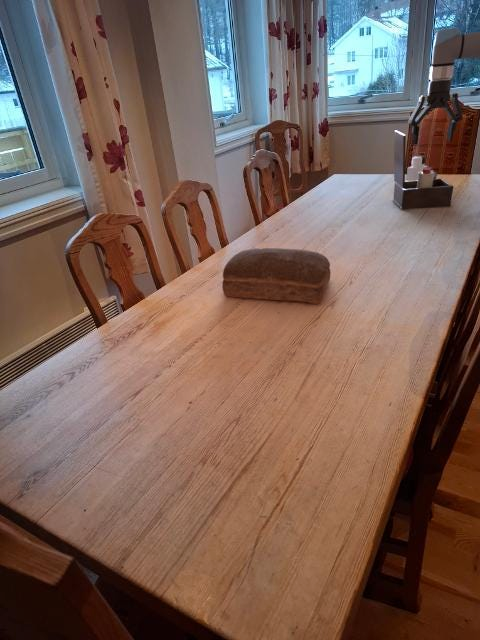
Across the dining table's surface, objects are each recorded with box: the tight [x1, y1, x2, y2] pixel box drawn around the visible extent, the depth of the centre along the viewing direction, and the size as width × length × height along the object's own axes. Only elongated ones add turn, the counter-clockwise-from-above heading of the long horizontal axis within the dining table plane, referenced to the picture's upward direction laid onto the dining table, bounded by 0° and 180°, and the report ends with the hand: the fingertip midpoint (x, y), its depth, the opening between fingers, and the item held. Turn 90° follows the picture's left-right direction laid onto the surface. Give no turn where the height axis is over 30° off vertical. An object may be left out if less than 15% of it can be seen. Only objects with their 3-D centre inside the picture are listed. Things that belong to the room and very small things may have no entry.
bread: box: [222, 247, 331, 304], centre depth 123 cm, size 17×29×11 cm, turn 70°
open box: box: [392, 177, 454, 211], centre depth 181 cm, size 20×14×8 cm
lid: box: [393, 130, 407, 189], centre depth 175 cm, size 20×14×1 cm
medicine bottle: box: [405, 155, 429, 181], centre depth 212 cm, size 7×7×12 cm
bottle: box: [417, 168, 434, 188], centre depth 178 cm, size 6×6×14 cm
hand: (432, 142), depth 166 cm, fingers open, 13 cm apart
